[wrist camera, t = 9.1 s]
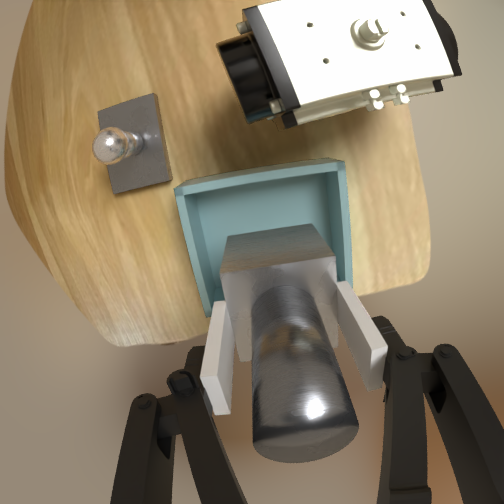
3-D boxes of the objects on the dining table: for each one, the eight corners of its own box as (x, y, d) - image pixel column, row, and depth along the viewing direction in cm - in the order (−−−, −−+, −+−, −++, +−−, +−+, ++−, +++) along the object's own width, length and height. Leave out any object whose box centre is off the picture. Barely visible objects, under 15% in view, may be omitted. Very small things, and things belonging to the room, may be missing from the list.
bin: (186, 180, 32) (173, 188, 27) (328, 157, 32) (344, 161, 26) (211, 291, 37) (206, 317, 32) (338, 271, 37) (352, 294, 31)
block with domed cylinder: (242, 308, 26) (236, 480, 11) (227, 235, 23) (195, 393, 8) (318, 297, 25) (378, 457, 10) (311, 223, 23) (403, 359, 8)
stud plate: (103, 112, 29) (63, 108, 21) (157, 94, 29) (128, 81, 21) (118, 191, 33) (83, 208, 25) (172, 178, 32) (148, 191, 24)
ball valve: (253, 143, 31) (257, 145, 15) (225, 74, 28) (201, 9, 12) (396, 102, 29) (500, 89, 13) (371, 38, 26) (456, -17, 10)
